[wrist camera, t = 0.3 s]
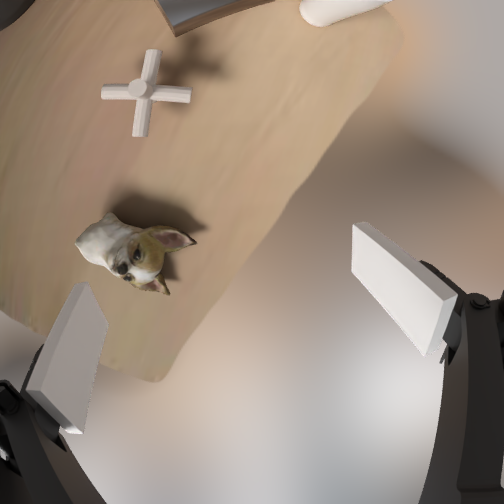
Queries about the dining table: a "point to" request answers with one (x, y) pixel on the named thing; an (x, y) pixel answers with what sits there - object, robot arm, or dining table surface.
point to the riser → (200, 11)
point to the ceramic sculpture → (132, 250)
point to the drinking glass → (335, 10)
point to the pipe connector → (146, 92)
